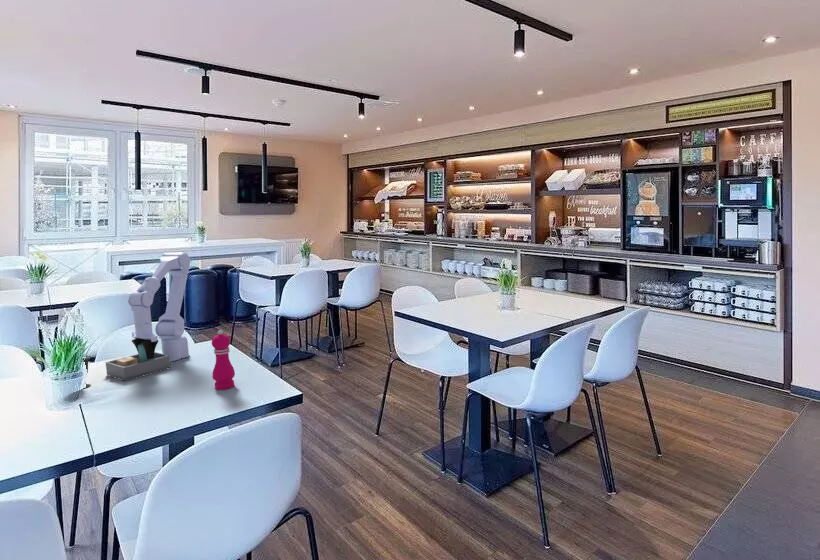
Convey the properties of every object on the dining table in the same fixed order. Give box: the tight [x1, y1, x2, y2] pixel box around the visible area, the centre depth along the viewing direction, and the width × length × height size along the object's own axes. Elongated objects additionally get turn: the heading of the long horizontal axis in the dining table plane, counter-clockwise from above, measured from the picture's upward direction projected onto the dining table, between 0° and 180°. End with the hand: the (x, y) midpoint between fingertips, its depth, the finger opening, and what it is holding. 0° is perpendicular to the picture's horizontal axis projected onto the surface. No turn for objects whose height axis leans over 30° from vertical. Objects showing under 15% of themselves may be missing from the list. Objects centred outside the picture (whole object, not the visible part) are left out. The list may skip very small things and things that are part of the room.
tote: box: [105, 351, 171, 382], centre depth 195 cm, size 17×13×5 cm
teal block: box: [137, 344, 154, 363], centre depth 196 cm, size 5×5×7 cm
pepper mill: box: [211, 329, 236, 391], centre depth 175 cm, size 7×7×20 cm
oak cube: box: [117, 356, 138, 367], centre depth 191 cm, size 5×5×5 cm
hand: (146, 357), depth 196 cm, fingers closed on teal block, 5 cm apart
